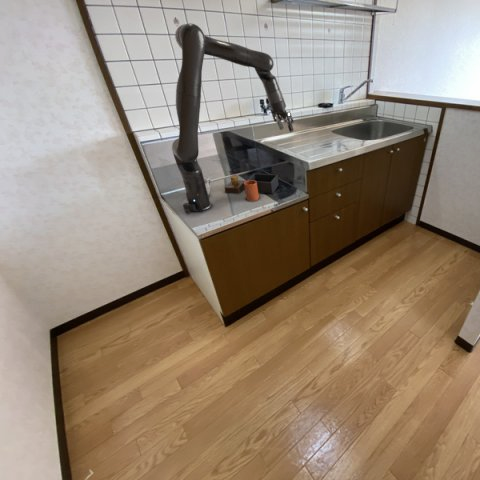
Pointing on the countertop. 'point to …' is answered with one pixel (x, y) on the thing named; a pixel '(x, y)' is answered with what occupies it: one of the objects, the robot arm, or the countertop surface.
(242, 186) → the tap block
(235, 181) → the tap knob
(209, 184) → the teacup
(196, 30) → the robot arm
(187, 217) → the countertop surface
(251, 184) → the cup
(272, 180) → the basin
